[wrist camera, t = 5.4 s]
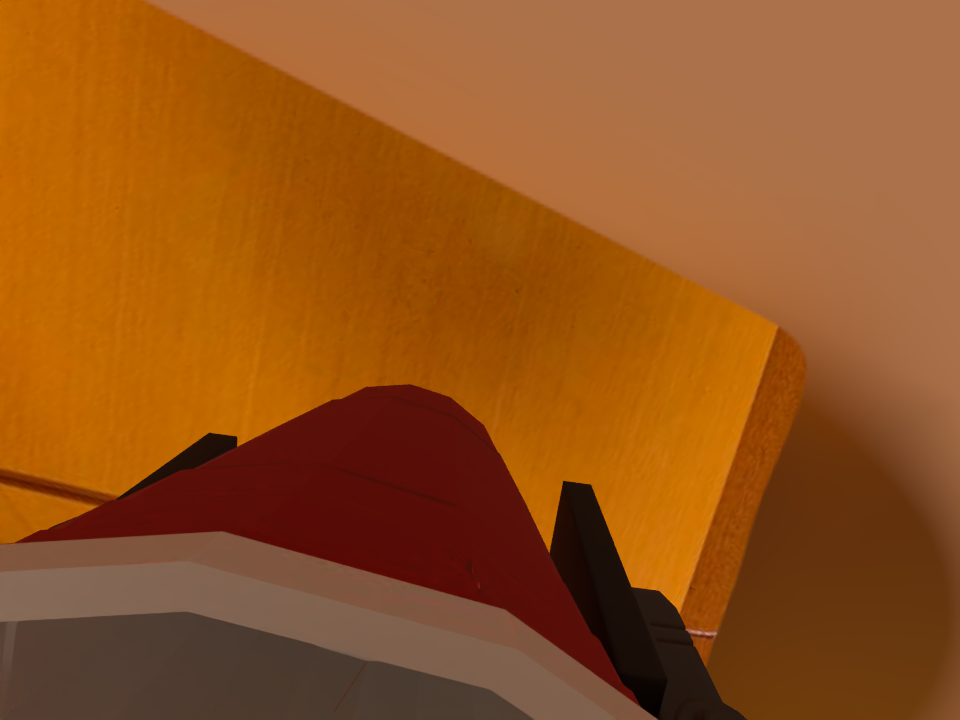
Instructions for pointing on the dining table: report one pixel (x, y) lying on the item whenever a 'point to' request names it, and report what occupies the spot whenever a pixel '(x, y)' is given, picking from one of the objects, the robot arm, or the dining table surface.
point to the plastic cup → (308, 587)
